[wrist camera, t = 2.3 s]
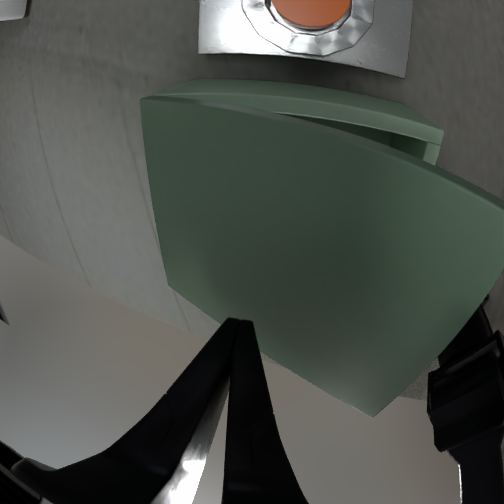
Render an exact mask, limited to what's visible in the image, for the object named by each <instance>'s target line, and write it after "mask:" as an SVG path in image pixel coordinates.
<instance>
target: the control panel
mask: <svg viewBox="0 0 504 504" xmlns="http://www.w3.org/2000/svg"><path fill="white" fill-rule="evenodd" d="M412 15H413V0H351V1H350V5H349V8H348V10H347V12H346V13H345V15H344V16H343V17H342V18H341V19H339V20H338V21H337V22H335V23H334V24H332V25H330V26H328V27H326V28H322V29H316V30H309V29H302V28H298V27H296V26H293V25H291V24H289V23H288V22H286V21H285V20H284V19H282V18H281V17H280V16H279V15H278V13H277V12H276V10H275V8H274V6H273V4H272V2H271V0H199V22H198V54H199V55H202V54H254V55H272V56H284V57H295V58H303V59H311V60H319V61H325V62H331V63H337V64H343V65H348V66H353V67H358V68H363V69H367V70H371V71H376V72H380V73H384V74H387V75H391V76H395V77H398V78H402V79H405V76H406V69H407V62H408V54H409V46H410V37H411V27H412Z"/></svg>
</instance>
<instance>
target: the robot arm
mask: <svg viewBox="0 0 504 504" xmlns="http://www.w3.org/2000/svg"><path fill="white" fill-rule="evenodd" d="M489 297H490V296H489V294H487V296H486V297H485V298H484V300H483V301H482V303H481V304H480V305H479V307H478V308H477V309H476V311H475V312H474V313H473V315H472V316H471V317H470V319H469V320H468V321H467V323H466V324H465V325H464V326H463V328H462V329H461V330H460V331H459V332H458V334H457V335H456V336H455V337H454V338H453V340H452V341H451V342H450V343H449V344H448V345H447V347H446V348H445V349H444V350H443V351H442V352H441V353H440V354H439V355H438V361H439V366H440V368H438V369H437V370H435V371H431V372H429V373H428V396H427V413H428V416H429V418H430V421H431V423H432V425H433V429H434V445H435V446H436V448H437V449H438V451H440V452H443V451H446V452H447V453H448V454H449V455H450V456H451V457H452V458H453V459H454V460H455V461H456V462H457V463H458V465H459V474H460V493H461V504H504V336H503V335H502V333H501V332H500V331H499V330H497V331H496V332H494V334H493V331H492V329H491V326H490V323H489V321H488V318H487V316H486V313H485V311H484V308H483V306H484V305H485V303H486V302H487V301H488V299H489ZM499 355H500V357H499V358H498V356H499ZM228 391H229V400H228V415H227V431H226V448H225V463H224V480H223V493H222V502H221V504H309V503H308V502H307V500H306V498H305V496H304V495H303V493H302V491H301V489H300V486H299V484H298V482H297V480H296V477H295V475H294V472H293V470H292V468H291V465H290V463H289V460H288V458H287V455H286V453H285V450H284V447H283V445H282V442H281V439H280V436H279V432H278V429H277V425H276V421H275V416H274V414H273V408H272V404H271V399H270V395H269V390H268V387H267V382H266V377H265V373H264V369H263V364H262V359H261V355H260V350H259V346H258V341H257V337H256V332H255V328H254V323H253V321H252V320H246V319H241V320H240V319H238V318H232V317H228V318H227V319H226V320H225V321H224V322H223V323H222V325H221V326H220V327H219V328H218V330H217V331H216V332H215V333H214V335H213V336H212V337H211V338H210V340H209V341H208V342H207V343H206V344H205V346H204V347H203V348H202V349H201V351H200V352H199V353H198V354H197V355H196V357H195V358H194V359H193V360H192V362H191V363H190V364H189V365H188V366H187V368H186V369H185V370H184V371H183V372H182V374H181V375H180V376H179V377H178V379H177V380H176V381H175V382H174V383H173V385H172V386H171V387H170V388H169V389H168V391H167V392H166V393H167V394H164V395H163V396H162V398H161V399H160V400H159V401H158V402H157V403H156V405H155V406H154V407H153V408H152V409H151V410H150V411H149V412H148V413H147V414H146V415H145V416H144V417H143V418H142V419H141V420H140V421H139V422H138V423H137V424H136V425H134V426H133V427H132V428H131V429H130V430H129V431H128V432H127V433H126V434H124V435H123V436H122V437H121V438H120V439H119V440H117V441H116V442H115V443H114V444H113V445H112V446H110V447H109V448H107V449H106V450H104V451H103V452H101V453H99V454H97V455H94V456H92V457H89V458H87V459H85V460H82V461H79V462H77V463H74V464H71V465H68V466H66V467H63V468H60V469H55V468H52V467H49V466H47V465H44V464H42V463H39V462H38V461H35V460H33V459H30V458H24V457H23V456H21V455H20V454H19V453H17V452H16V451H15V450H13V449H12V448H11V447H9V446H8V445H6V444H5V443H3V442H2V441H0V504H191V503H192V500H193V497H194V494H195V491H196V488H197V485H198V483H199V480H200V479H199V478H200V477H201V473H202V470H203V468H204V465H205V462H206V459H207V456H208V453H209V450H210V447H211V444H212V441H213V437H214V435H215V432H216V429H217V426H218V422H219V419H220V416H221V413H222V410H223V407H224V404H225V401H226V398H227V395H228Z"/></svg>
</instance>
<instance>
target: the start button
mask: <svg viewBox="0 0 504 504" xmlns="http://www.w3.org/2000/svg"><path fill="white" fill-rule="evenodd" d="M350 1H351V0H271V2H272V4H273V6H274V8H275V10H276V12H277V13H278V15H279V16H280V17H281V18H282V19H284V20H285V21H286V22H288V23H289V24H291V25H293V26H296V27H298V28H302V29H309V30H316V29H322V28H326V27H328V26H330V25H332V24H334V23H335V22H337V21H338V20H339V19H341V18H342V17H343V16H344V15H345V13H346V12H347V10H348V8H349V5H350Z"/></svg>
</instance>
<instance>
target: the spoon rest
mask: <svg viewBox="0 0 504 504" xmlns="http://www.w3.org/2000/svg"><path fill="white" fill-rule="evenodd" d="M26 4H27V0H0V21H4V20H13V19H20V18H23V17H24V15H25V11H26Z"/></svg>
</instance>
